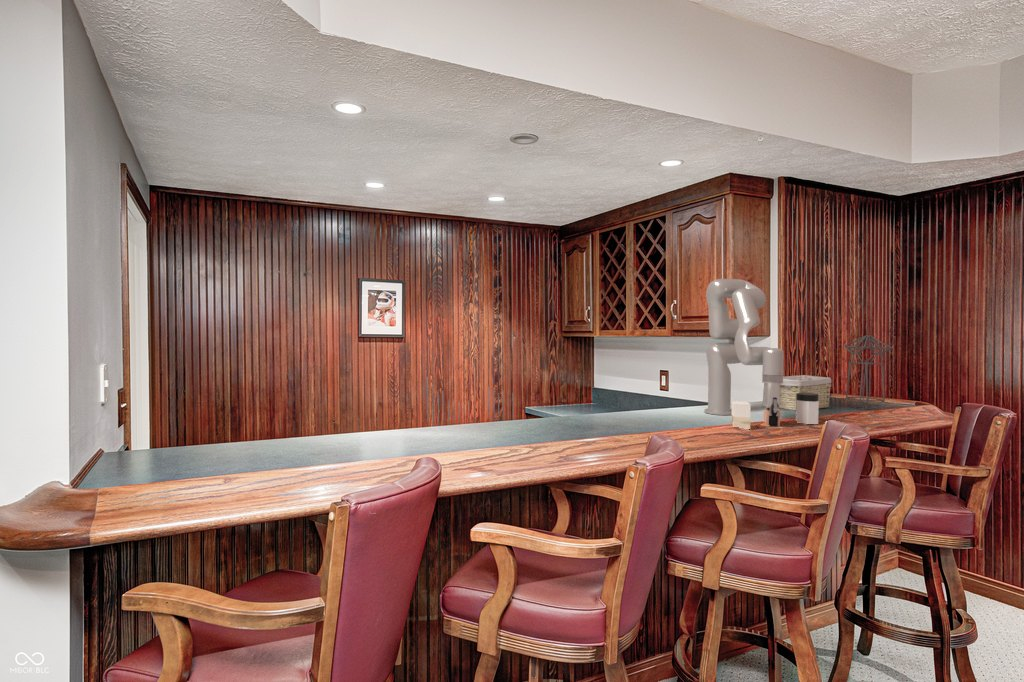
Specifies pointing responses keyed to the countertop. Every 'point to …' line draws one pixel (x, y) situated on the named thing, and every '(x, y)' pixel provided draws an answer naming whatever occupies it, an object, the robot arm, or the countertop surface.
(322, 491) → the countertop surface
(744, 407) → the middle block
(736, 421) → the base block
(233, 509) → the countertop surface
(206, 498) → the countertop surface
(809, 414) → the jar
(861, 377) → the geometric lantern
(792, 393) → the storage basket
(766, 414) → the top block
